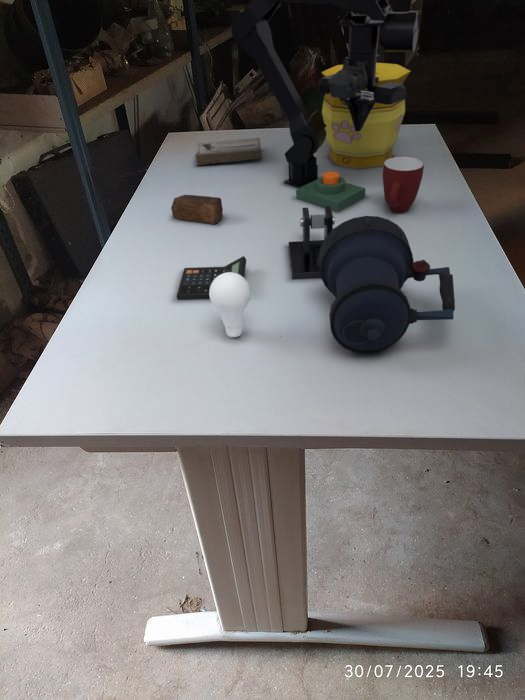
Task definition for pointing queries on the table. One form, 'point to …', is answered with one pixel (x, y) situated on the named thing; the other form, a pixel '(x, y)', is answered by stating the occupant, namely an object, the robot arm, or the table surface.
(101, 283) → the table surface
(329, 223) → the bracket
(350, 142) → the container
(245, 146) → the box
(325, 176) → the button
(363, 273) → the flashlight
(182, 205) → the brick
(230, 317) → the lightbulb
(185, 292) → the calculator
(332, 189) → the button block
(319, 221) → the lever
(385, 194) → the mug
